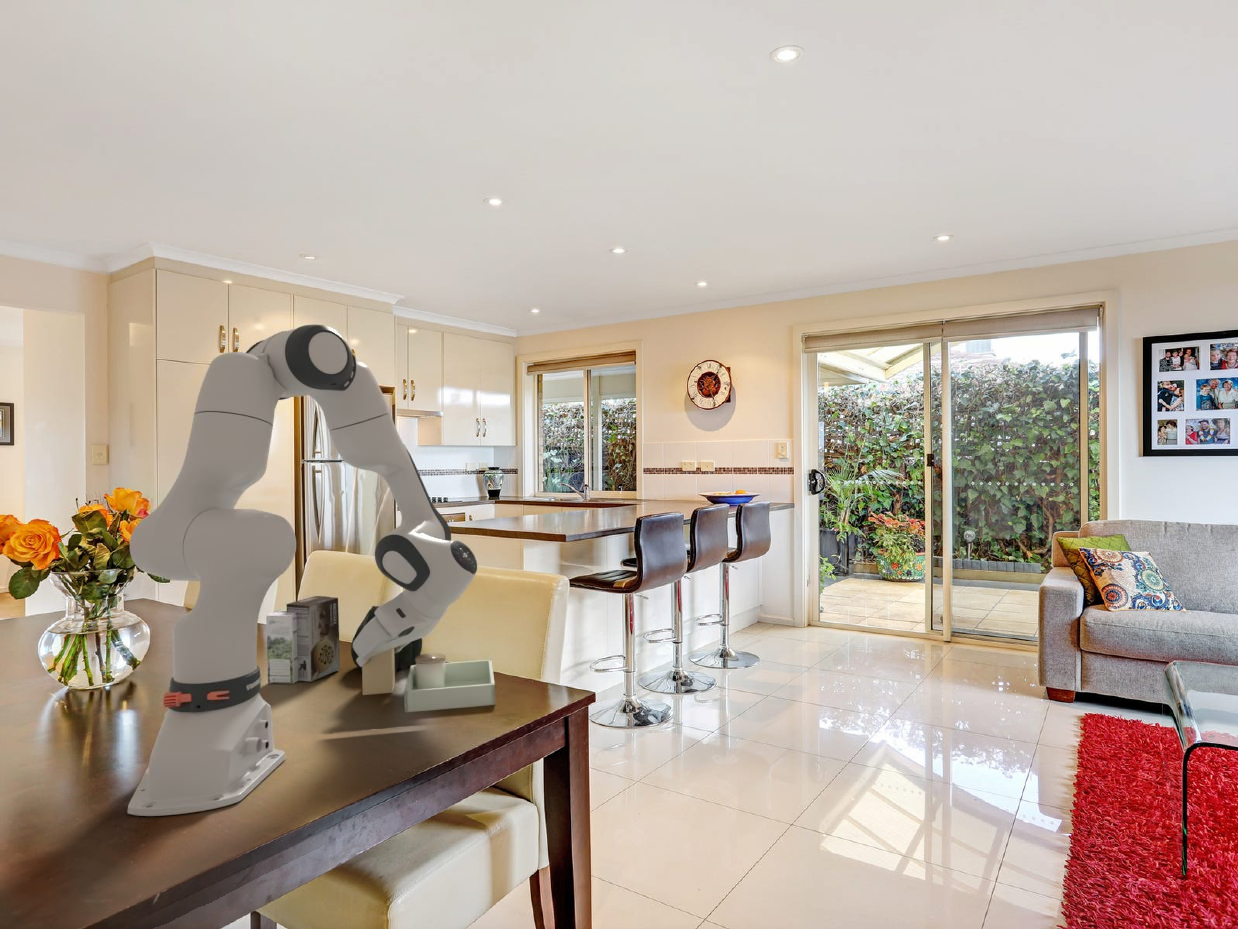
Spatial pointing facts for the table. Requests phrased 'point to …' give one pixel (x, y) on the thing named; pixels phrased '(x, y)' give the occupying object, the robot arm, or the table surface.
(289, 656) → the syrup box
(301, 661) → the coffee box
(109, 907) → the table surface
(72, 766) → the table surface
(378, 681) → the carton
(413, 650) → the squash
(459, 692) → the tray
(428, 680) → the jar
